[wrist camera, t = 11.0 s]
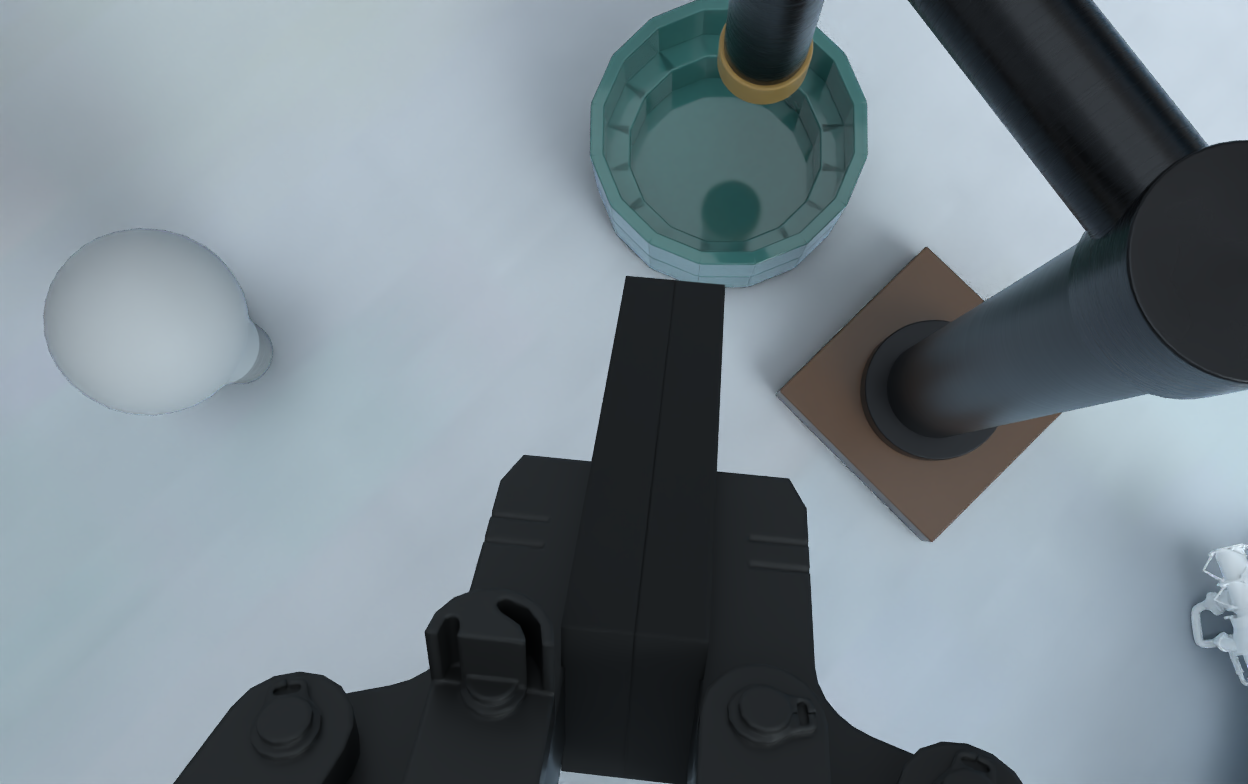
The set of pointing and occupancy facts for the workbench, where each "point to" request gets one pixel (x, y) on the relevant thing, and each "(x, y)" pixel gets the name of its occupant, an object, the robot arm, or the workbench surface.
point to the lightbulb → (151, 323)
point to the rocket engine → (1227, 605)
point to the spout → (1081, 173)
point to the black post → (948, 385)
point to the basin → (721, 153)
